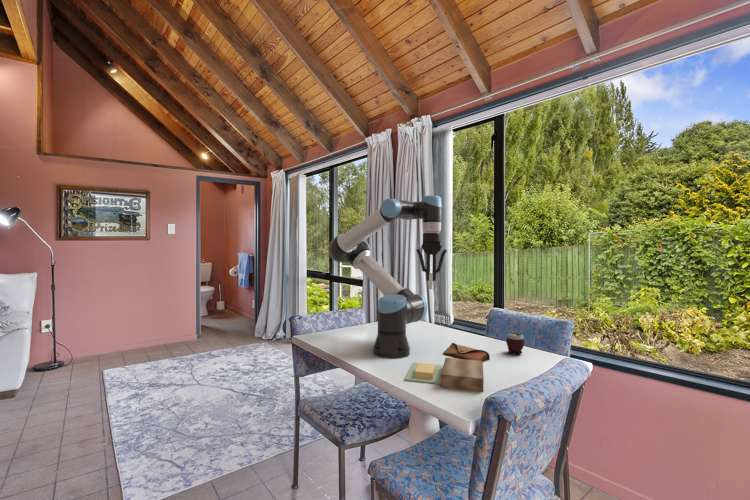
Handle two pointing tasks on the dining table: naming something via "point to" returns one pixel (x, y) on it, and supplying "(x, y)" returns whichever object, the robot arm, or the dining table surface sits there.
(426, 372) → the yellow rectangular block
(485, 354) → the sunglasses case
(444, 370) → the brown piece
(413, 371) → the mat
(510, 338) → the mate gourd
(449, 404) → the dining table surface
